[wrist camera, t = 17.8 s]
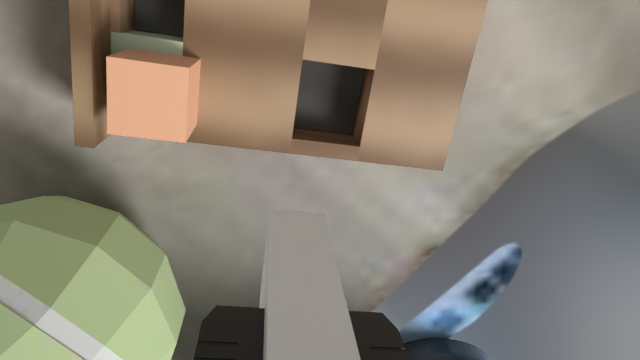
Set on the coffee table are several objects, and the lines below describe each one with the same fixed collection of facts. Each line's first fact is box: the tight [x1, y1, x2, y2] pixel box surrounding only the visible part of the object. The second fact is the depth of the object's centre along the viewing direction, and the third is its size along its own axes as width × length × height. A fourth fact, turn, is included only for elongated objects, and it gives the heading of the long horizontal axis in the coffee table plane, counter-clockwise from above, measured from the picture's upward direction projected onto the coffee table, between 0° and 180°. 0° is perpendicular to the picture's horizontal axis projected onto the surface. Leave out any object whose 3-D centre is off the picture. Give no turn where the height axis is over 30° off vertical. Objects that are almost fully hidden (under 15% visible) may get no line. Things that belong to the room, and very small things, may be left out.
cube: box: [106, 49, 201, 143], centre depth 25 cm, size 4×4×4 cm
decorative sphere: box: [0, 196, 186, 360], centre depth 27 cm, size 15×15×15 cm
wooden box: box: [68, 0, 488, 171], centre depth 27 cm, size 12×22×6 cm, turn 81°
